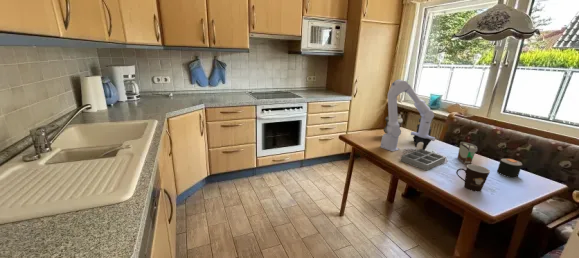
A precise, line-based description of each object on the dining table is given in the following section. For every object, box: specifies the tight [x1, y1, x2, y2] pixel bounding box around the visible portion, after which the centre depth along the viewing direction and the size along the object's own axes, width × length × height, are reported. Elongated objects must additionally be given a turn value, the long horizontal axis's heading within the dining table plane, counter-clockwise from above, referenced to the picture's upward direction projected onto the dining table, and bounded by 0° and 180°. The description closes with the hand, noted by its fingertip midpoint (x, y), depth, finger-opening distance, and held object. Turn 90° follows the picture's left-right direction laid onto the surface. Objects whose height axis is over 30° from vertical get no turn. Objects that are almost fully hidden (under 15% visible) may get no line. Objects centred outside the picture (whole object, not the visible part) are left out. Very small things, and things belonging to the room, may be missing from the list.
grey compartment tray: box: [400, 149, 447, 171], centre depth 142 cm, size 15×22×3 cm
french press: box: [416, 117, 434, 143], centre depth 172 cm, size 12×9×23 cm
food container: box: [457, 141, 478, 165], centre depth 144 cm, size 12×6×10 cm, turn 168°
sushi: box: [496, 158, 523, 178], centre depth 130 cm, size 8×8×8 cm
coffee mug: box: [455, 163, 491, 193], centre depth 114 cm, size 12×9×10 cm
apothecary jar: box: [383, 113, 404, 134], centre depth 180 cm, size 12×12×18 cm
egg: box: [415, 142, 424, 151], centre depth 159 cm, size 4×4×6 cm
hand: (420, 148), depth 159 cm, fingers closed on egg, 4 cm apart
